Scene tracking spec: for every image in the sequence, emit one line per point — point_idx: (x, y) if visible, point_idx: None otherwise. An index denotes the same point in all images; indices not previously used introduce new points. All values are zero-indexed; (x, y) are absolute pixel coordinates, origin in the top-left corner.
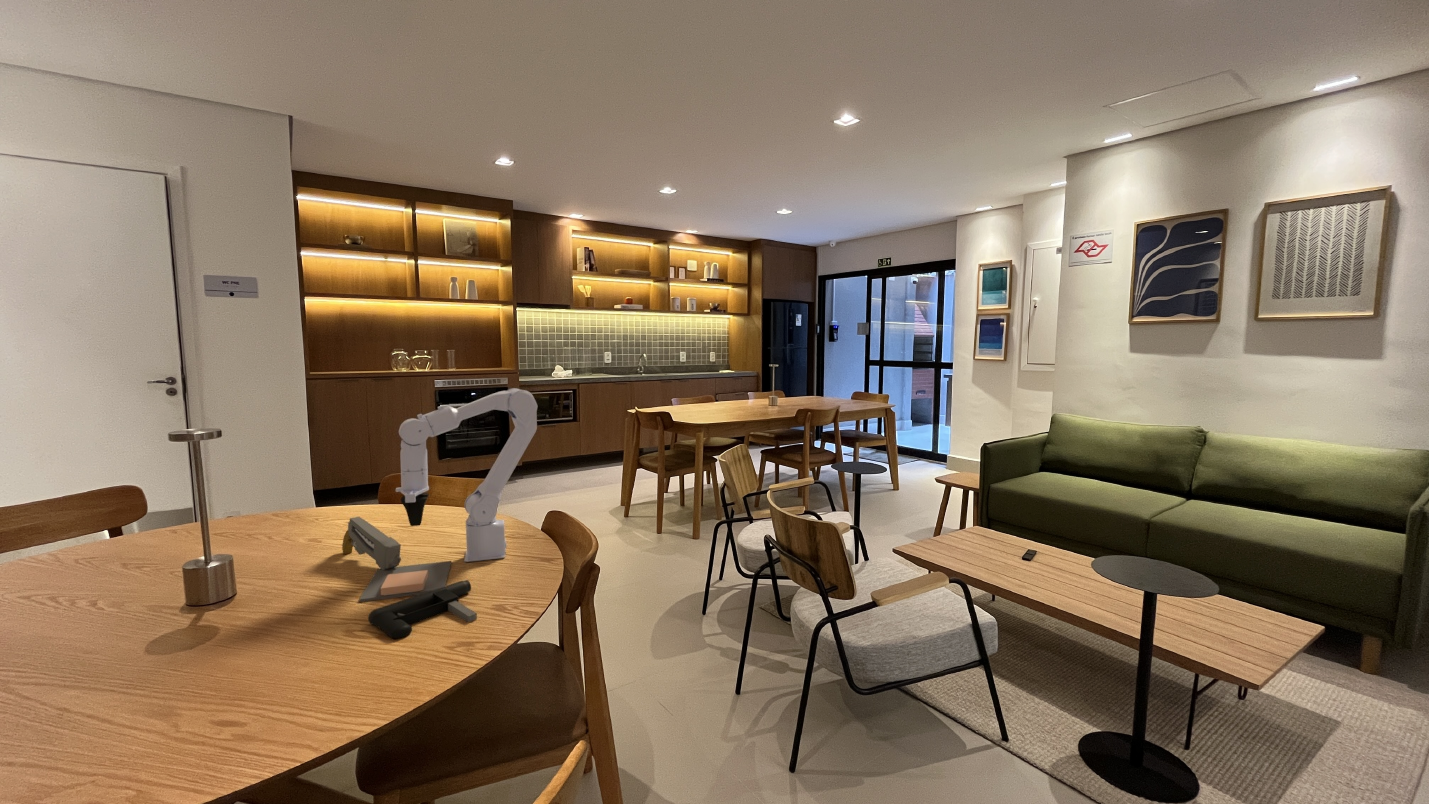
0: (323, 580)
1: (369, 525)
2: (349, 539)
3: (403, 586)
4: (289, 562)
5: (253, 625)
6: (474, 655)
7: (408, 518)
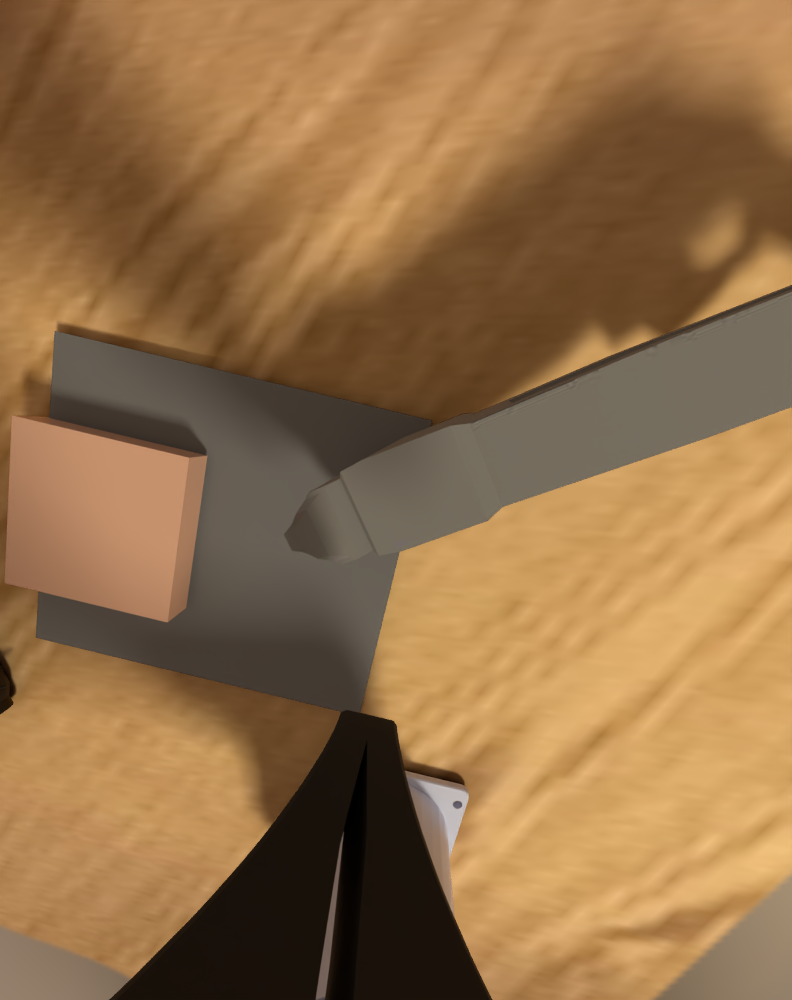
0: (445, 164)
1: None
2: None
3: (12, 507)
4: None
5: None
6: None
7: (320, 763)
